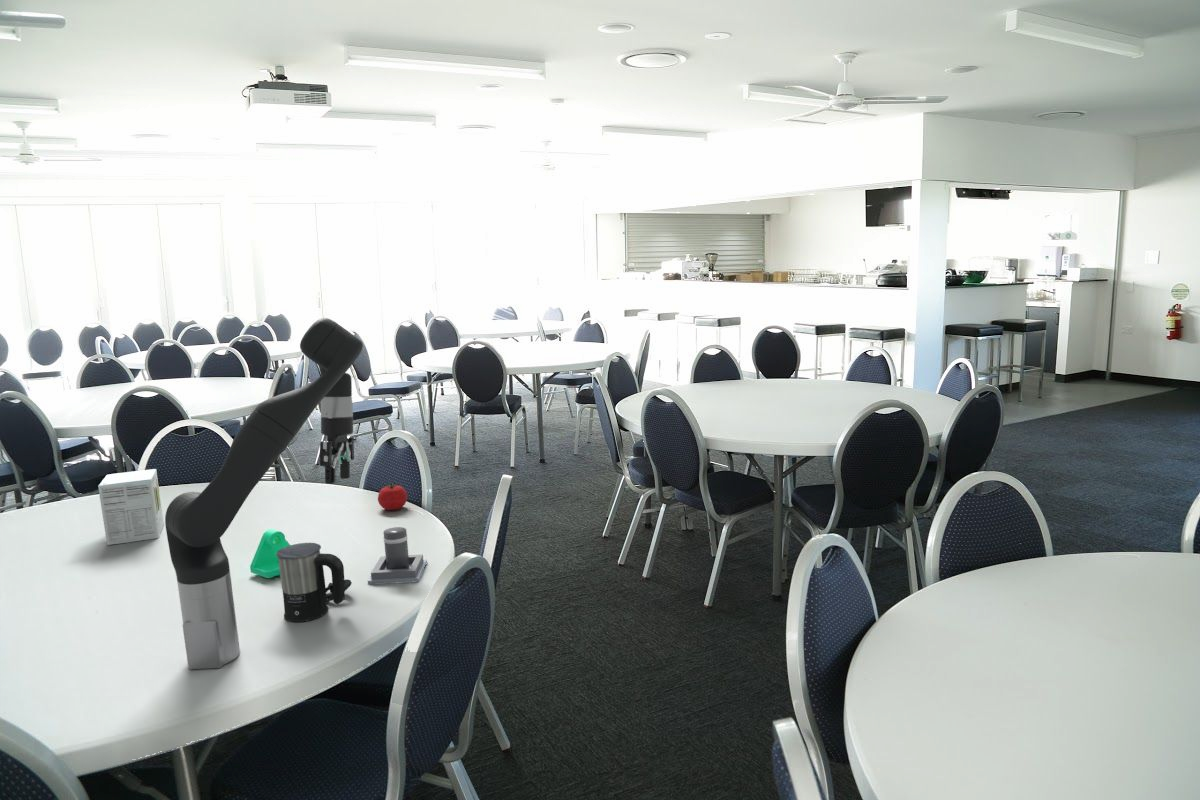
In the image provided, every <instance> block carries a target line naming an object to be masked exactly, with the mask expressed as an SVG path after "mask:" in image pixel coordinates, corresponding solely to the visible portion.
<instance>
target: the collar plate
mask: <svg viewBox="0 0 1200 800" xmlns="http://www.w3.org/2000/svg"><path fill="white" fill-rule="evenodd" d="M408 556H409V568H410V569H392V570H387V566H386V555H385V556H384V555H383V556H382V555H381V556H380V557H379V559H378V560H377V562H376V563H375V565H374V566H373V568H372V570H371V572H370V576H369V578H368V580H367V585H377V584H376V583H383V584H397V582H398V583H399V582H402V583H417V581H420V580H419V579H421V577H422V575H423V573H424V571H423V570H425V568H426V566H427V564H426V563H428V560H427V559H424V554H408ZM425 565H426V566H425ZM424 567H425V568H424ZM422 572H423V573H422ZM421 574H422V575H421ZM413 581H414V582H413ZM415 581H416V582H415ZM399 584H400V583H399Z"/></svg>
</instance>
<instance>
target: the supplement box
mask: <svg viewBox="0 0 1200 800" xmlns="http://www.w3.org/2000/svg"><path fill="white" fill-rule="evenodd" d="M157 470H158V469H157V468H152V469H143V470H141V469H140V470H134V471H125V472H117V473H111V474H106V475H105V477H104V478H103V479H102V480H101V482H100V483H99V484H98V485H97V487H98V488H97V489H98V493H99V495H98V496H99V502H100V509H101V513H102V521H103V526H104V533H105V541H106V545H107V546H110V545H117V544H126V543H131V542H139V541H147V540H155V539H158V538H160V535H161V533H162V531H163V529H164V527H165V519H164V515H163V507H162V501H161V493H160V486H159V481H158V473H157Z"/></svg>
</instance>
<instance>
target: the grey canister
mask: <svg viewBox="0 0 1200 800" xmlns="http://www.w3.org/2000/svg"><path fill="white" fill-rule="evenodd" d="M383 543H384V552H385V553H384V554H385V556H386V566H387V570H392V569H410V568H409V556H408V555H409V546H408V533H407V528H406V527H404V526H403V527H401V526H395V527H390V528H386V529H384V531H383Z"/></svg>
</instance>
